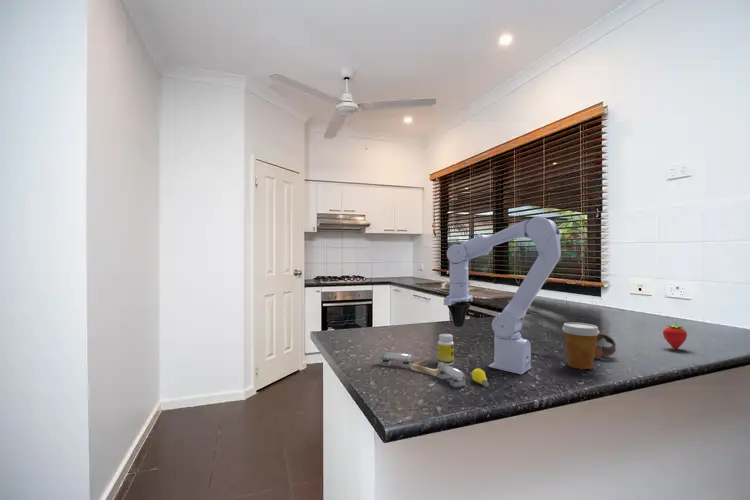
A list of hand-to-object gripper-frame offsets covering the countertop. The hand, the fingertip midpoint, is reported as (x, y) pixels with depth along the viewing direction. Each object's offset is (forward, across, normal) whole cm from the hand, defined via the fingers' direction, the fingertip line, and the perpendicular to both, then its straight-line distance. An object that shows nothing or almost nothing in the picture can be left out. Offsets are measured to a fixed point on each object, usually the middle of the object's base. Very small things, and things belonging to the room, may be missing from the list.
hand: (458, 326), depth 112 cm
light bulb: (+10, +16, +15) cm, 24 cm away
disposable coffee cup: (+10, -18, +30) cm, 36 cm away
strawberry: (+10, -62, +49) cm, 80 cm away
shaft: (+10, +20, +9) cm, 24 cm away
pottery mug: (+10, -34, +30) cm, 47 cm away
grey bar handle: (+10, +20, -9) cm, 24 cm away
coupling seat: (+10, +16, 0) cm, 18 cm away
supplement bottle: (+10, +8, 0) cm, 13 cm away
